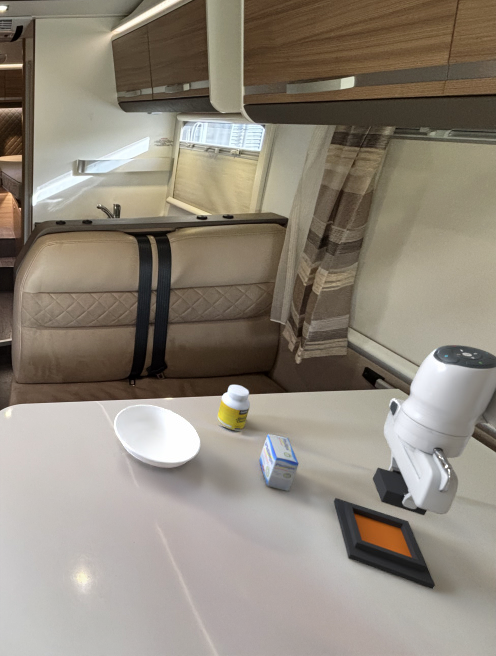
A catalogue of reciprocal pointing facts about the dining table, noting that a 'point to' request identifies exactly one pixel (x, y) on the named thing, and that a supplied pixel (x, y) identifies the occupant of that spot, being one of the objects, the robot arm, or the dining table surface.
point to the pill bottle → (234, 408)
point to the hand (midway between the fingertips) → (400, 489)
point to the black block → (392, 489)
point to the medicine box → (278, 462)
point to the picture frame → (382, 542)
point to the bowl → (157, 435)
